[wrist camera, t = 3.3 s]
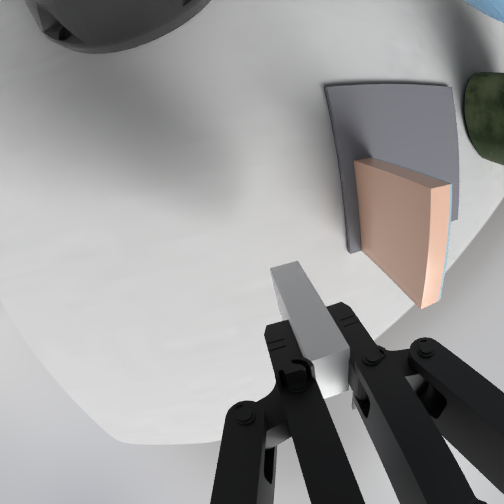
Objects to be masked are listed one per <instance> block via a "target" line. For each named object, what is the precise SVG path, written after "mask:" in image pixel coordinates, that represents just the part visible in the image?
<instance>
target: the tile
mask: <svg viewBox="0 0 504 504" xmlns="http://www.w3.org/2000/svg"><path fill="white" fill-rule="evenodd" d="M354 168H355V176H356V185H357V195H358V205H359V218H360V232H361V251H362V252H364V253H365V254H366V255H367V256H368V257H369V258H370V259H371V260H372V261H373V262H374V263H375V264H376V265H377V266H378V267H379V268H380V269H381V270H382V271H383V272H384V273H385V274H386V275H387V276H388V277H389V278H390V279H392V280H393V281H394V282H395V283H396V284H397V286H398V287H399V288H400V289H401V290H402V291H403V292H404V293H405V294H406V295H407V296H408V297H409V298H410V299H411V300H412V301H413V302H414V303H415V304H416V305H417V306H418V307H419V308H420V309H423V308H425V307H427V306H429V305H431V304H433V303H435V302H437V301H439V300H440V297H441V292H442V286H443V281H444V275H445V269H446V262H447V254H448V246H449V236H450V225H451V209H452V184H451V183H449V182H446V181H443V180H441V179H438V178H435V177H433V176H430V175H427V174H424V173H421V172H418V171H415V170H412V169H409V168H406V167H403V166H400V165H397V164H394V163H390V162H387V161H383V160H380V159H376V158H373V157H372V158H366V159H360V160H355V161H354Z"/></svg>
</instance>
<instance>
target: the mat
mask: <svg viewBox="0 0 504 504" xmlns="http://www.w3.org/2000/svg"><path fill="white" fill-rule="evenodd" d="M325 92H326V97H327V101H328V106H329V111H330V116H331V121H332V126H333V132H334V137H335V143H336V149H337V156H338V162H339V169H340V176H341V183H342V191H343V200H344V209H345V219H346V229H347V241H348V252H349V253H350V254H352V253H355V252H358V251H361V232H360V218H359V205H358V195H357V185H356V176H355V168H354V161H355V160H360V159H366V158H372V157H373V158H376V159H380V160H383V161H387V162H390V163H394V164H397V165H400V166H403V167H406V168H409V169H412V170H415V171H418V172H421V173H424V174H427V175H430V176H433V177H435V178H438V179H441V180H443V181H446V182H449V183H451V184H452V209H451V221H454V220H457V219H458V205H459V150H458V134H457V123H456V114H455V106H454V99H453V93H452V87H444V86H432V85H415V84H363V85H344V86H332V87H325Z"/></svg>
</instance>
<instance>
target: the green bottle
mask: <svg viewBox="0 0 504 504" xmlns="http://www.w3.org/2000/svg"><path fill="white" fill-rule="evenodd" d="M464 111H465V120H466V124H467V128H468V133H469V136H470V139H471V141H472V143H473V145H474V147H475V149H476V150H477V152H478V154H479V155H480V156H481V157H482V158H485V159H487V160H489V161H492V162H495V163H498V164H501V165H504V73H494V72H480V73H476V74H474V75H473V76H472V77H471V78H470V80H469V83H468V85H467V87H466V92H465V108H464Z"/></svg>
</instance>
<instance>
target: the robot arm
mask: <svg viewBox="0 0 504 504" xmlns="http://www.w3.org/2000/svg"><path fill="white" fill-rule="evenodd" d="M210 1H211V0H25V2H26V3H27V5H28V7H29V9H30V11H31V13H32V15H33V16H34V18H35V20H36V22H37V24H38V25H39V27H40V29H41V30H42V32H43V33H44V34H45V35H46V36H47V37H48V38H50V39H51V40H52V41H54V42H56V43H58V44H60V45H62V46H65V47H67V48H69V49H71V50H74V51H78V52H83V53H93V54H97V53H110V52H117V51H122V50H126V49H130V48H133V47H137V46H140V45H143V44H145V43H148V42H150V41H153V40H155V39H157V38H159V37H161V36H163V35H165V34H167V33H169V32H171V31H173V30H174V29H176V28H178V27H179V26H181V25H182V24H184V23H186V22H187V21H188V20H190V19H191V18H192V17H194V16H195V15H196V14H197V13H199V12H200V11H201V10H202V9H203V8H204V7H205V6H206V5H207V4H208V3H209V2H210ZM464 1H465V2H467V3H468V4H469V5H471V6H473V7H474V8H476V9H477V10H479V11H481V12H483V13H484V14H486V15H488V16H490V17H492V18H494V19H496V20H498V21H501V22H503V23H504V0H464ZM270 271H271V275H272V280H273V284H274V288H275V293H276V297H277V302H278V306H279V310H280V312H281V315H282V318H283V321H281V322H277V323H274V324H270V325H267V326H266V330H265V333H264V336H265V340H266V343H267V347H268V351H269V355H270V358H271V362H272V366H273V369H274V373H275V379H276V384H275V387H274V389H273V390H272V392H271V393H270V394H269V395H267V396H266V397H264V398H263V399H261V400H259V401H257V402H254V401H241V402H238V403H236V404H235V405H233V406H232V407H231V408H230V409H229V410H228V412H227V415H226V418H225V424H224V429H223V435H222V441H221V446H220V452H219V458H218V463H217V469H216V474H215V480H214V485H213V491H212V496H211V502H210V504H273V501H274V488H275V473H276V456H277V445H278V444H280V443H282V442H283V441H285V440H287V439H288V438H290V437H292V438H293V442H294V445H295V449H296V452H297V456H298V459H299V463H300V466H301V470H302V473H303V477H304V480H305V484H306V487H307V490H308V494H309V497H310V501H311V504H365V502H364V500H363V497H362V494H361V492H360V489H359V486H358V484H357V481H356V479H355V476H354V474H353V471H352V469H351V466H350V464H349V461H348V458H347V456H346V453H345V451H344V448H343V446H342V443H341V441H340V438H339V436H338V433H337V431H336V428H335V426H334V423H333V421H332V418H331V416H330V413H329V411H328V408H327V406H326V403H325V401H324V399H325V398H328V397H331V396H334V395H336V394H340V393H342V392H345V391H347V390H349V385H350V387H351V389H352V390H353V398H352V408H353V409H355V406H356V407H357V409H358V411H359V413H360V415H361V418H362V420H363V422H364V424H365V426H366V428H367V431H368V433H369V435H370V437H371V439H372V441H373V444H374V446H375V448H376V450H377V452H378V454H379V457H380V459H381V461H382V463H383V466H384V468H385V470H386V473H387V475H388V477H389V479H390V482H391V484H392V486H393V489H394V491H395V493H396V495H397V498H398V500H399V502H400V504H487V503H486V502H484V501H481V500H478V499H477V498H476V497H475V495H474V493H473V491H472V489H471V488H470V486H469V484H468V482H467V480H466V478H465V476H464V474H463V472H462V471H461V468H460V467H459V465H458V463H457V461H456V459H455V458H454V456H453V454H452V453H451V451H450V449H449V447H448V445H447V444H446V442H445V440H444V438H445V439H446V440H448V442H450V443H451V444H452V445H453V446H454V447H455V448H456V449H457V450H458V451H459V452H460V453H461V454H462V455H463V456H464V457H465V458H466V459H467V460H468V461H469V462H470V463H471V464H472V465H474V466H475V467H476V468H477V469H478V470H479V471H480V472H481V473H482V474H483V475H484V476H485V477H486V478H487V479H488V480H489V481H490V482H491V483H492V484H493V485H494V486H495V487H496V488H498V489H499V490H500V491H501V492H502V493H503V494H504V393H503V392H502V391H501V390H500V389H498V388H497V387H496V386H494V385H493V384H492V383H491V382H489V381H488V380H487V379H486V378H484V377H483V376H482V375H480V374H479V373H478V372H477V371H475V370H474V369H473V368H471V367H470V366H469V365H468V364H466V363H465V362H464V361H462V360H461V359H460V358H459V357H457V356H456V355H454V354H453V353H452V352H451V351H449V350H448V349H447V348H445V347H444V346H442V345H441V344H440V343H439V342H437V341H436V340H434V339H432V338H426V337H425V338H419V339H417V340H415V341H414V342H413V343H412V344H411V346H410V349H405V350H398V351H388V350H386V349H385V348H383V347H381V346H377V345H376V344H375V342H374V341H373V339H372V338H371V336H370V335H369V333H368V332H367V330H366V329H365V328H364V326H363V325H362V323H361V322H360V320H359V319H358V317H357V316H356V315H355V313H354V312H353V310H352V309H351V307H349V306H348V305H346V304H344V303H342V302H340V303H337V304H334V305H331V306H327V307H326V306H325V305H324V303H323V301H322V300H321V298H320V296H319V295H318V293H317V291H316V290H315V288H314V287H313V285H312V283H311V282H310V280H309V278H308V277H307V275H306V273H305V272H304V270H303V269H302V267H301V265H300V264H299V262H298V261H295V262H291V263H288V264H284V265H281V266H277V267H274V268H270ZM442 436H443V437H444V438H443V437H442Z"/></svg>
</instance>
